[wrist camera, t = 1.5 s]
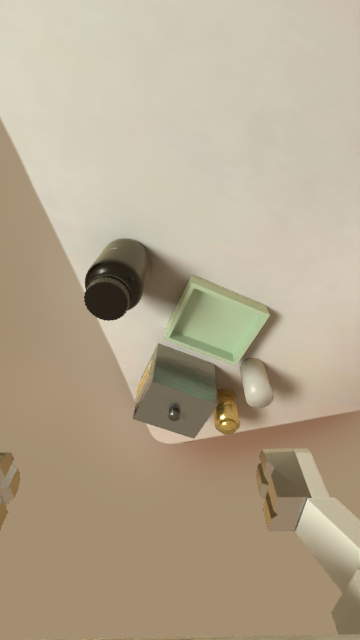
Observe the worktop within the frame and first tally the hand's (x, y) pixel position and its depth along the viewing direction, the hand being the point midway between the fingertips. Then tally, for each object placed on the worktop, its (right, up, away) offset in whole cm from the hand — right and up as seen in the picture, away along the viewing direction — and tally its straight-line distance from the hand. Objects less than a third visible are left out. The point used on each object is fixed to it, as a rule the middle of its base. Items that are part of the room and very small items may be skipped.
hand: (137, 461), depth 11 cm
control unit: (+1, -4, +43) cm, 43 cm away
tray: (+7, +5, +37) cm, 38 cm away
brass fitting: (+9, -9, +46) cm, 47 cm away
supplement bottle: (-6, +13, +33) cm, 36 cm away
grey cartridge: (+13, -3, +42) cm, 44 cm away
